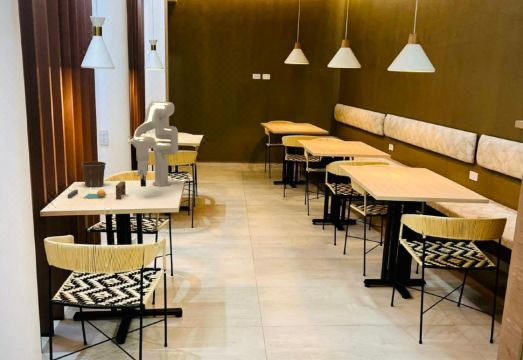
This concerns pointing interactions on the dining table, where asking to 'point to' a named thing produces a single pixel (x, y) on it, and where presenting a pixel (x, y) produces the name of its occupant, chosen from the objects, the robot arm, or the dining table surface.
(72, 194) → the stopper wall
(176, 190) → the dining table surface
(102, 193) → the ball
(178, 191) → the dining table surface
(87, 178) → the plant pot
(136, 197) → the dining table surface
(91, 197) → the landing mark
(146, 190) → the dining table surface
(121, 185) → the bridge
